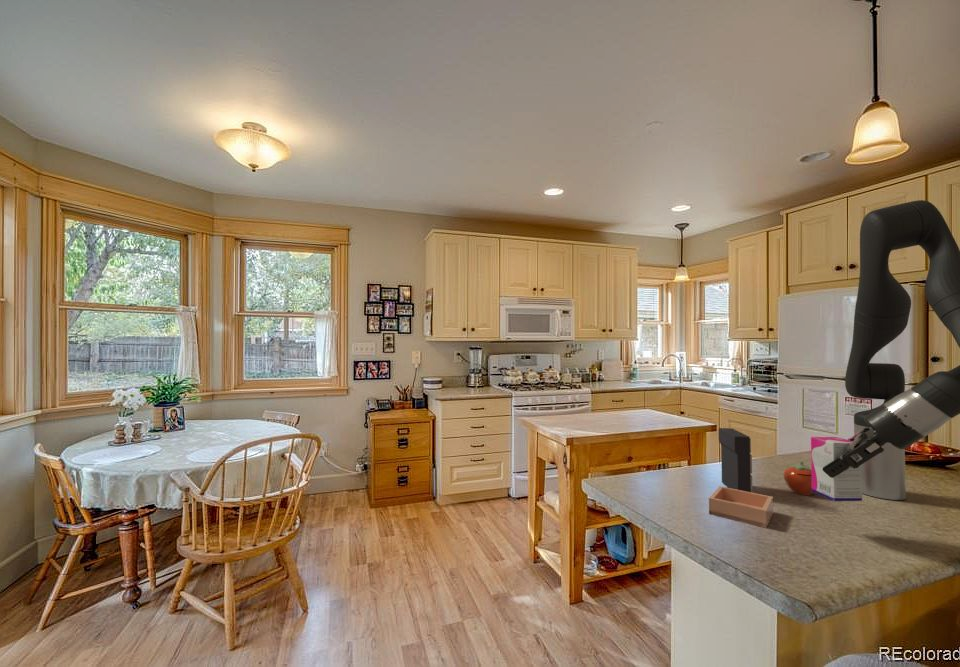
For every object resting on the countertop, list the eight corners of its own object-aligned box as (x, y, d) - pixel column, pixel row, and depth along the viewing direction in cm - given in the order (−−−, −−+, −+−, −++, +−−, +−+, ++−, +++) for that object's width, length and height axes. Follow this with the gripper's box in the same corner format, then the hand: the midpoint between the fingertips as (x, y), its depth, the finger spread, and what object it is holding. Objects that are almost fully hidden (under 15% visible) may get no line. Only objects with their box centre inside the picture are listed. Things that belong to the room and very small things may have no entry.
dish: (720, 500, 100) (719, 486, 100) (773, 512, 93) (772, 496, 93) (709, 513, 92) (708, 498, 92) (766, 527, 85) (766, 510, 85)
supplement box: (864, 501, 81) (862, 442, 81) (833, 501, 81) (832, 443, 81) (838, 490, 86) (836, 435, 87) (810, 490, 86) (808, 436, 87)
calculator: (754, 497, 102) (753, 436, 102) (735, 496, 103) (734, 436, 103) (736, 483, 113) (735, 428, 113) (719, 482, 113) (718, 427, 114)
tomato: (791, 495, 103) (790, 463, 103) (778, 486, 110) (778, 456, 110) (826, 499, 101) (825, 466, 101) (811, 488, 108) (810, 458, 108)
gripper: (882, 399, 84) (812, 446, 92) (888, 408, 73) (808, 460, 81) (921, 428, 81) (844, 475, 88) (933, 442, 70) (844, 494, 77)
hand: (827, 468), depth 84 cm, fingers closed on supplement box, 8 cm apart
